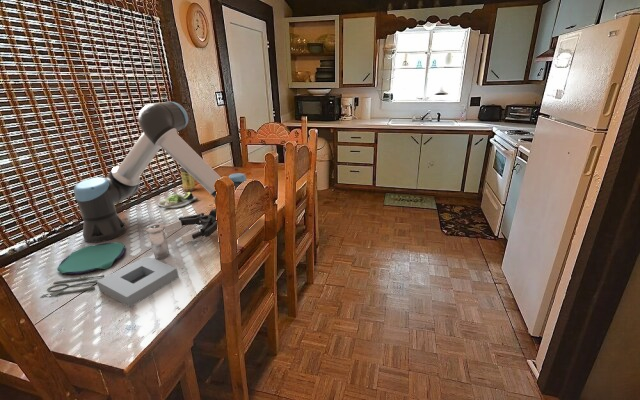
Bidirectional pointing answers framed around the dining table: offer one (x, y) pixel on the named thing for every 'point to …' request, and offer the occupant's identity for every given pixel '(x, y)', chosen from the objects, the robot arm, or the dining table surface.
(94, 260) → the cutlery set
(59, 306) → the dining table surface
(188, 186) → the sauce bottle
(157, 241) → the bushing
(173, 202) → the salad plate
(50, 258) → the dining table surface
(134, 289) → the jig
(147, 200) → the dining table surface
